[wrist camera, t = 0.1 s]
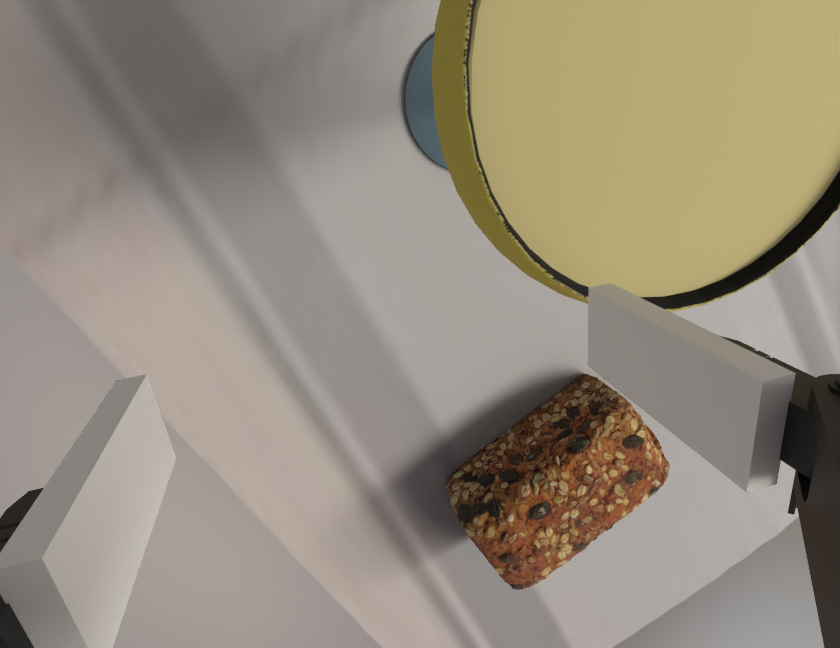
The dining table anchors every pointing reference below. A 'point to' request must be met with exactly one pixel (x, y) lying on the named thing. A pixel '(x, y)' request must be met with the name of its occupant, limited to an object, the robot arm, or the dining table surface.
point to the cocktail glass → (636, 136)
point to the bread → (557, 481)
